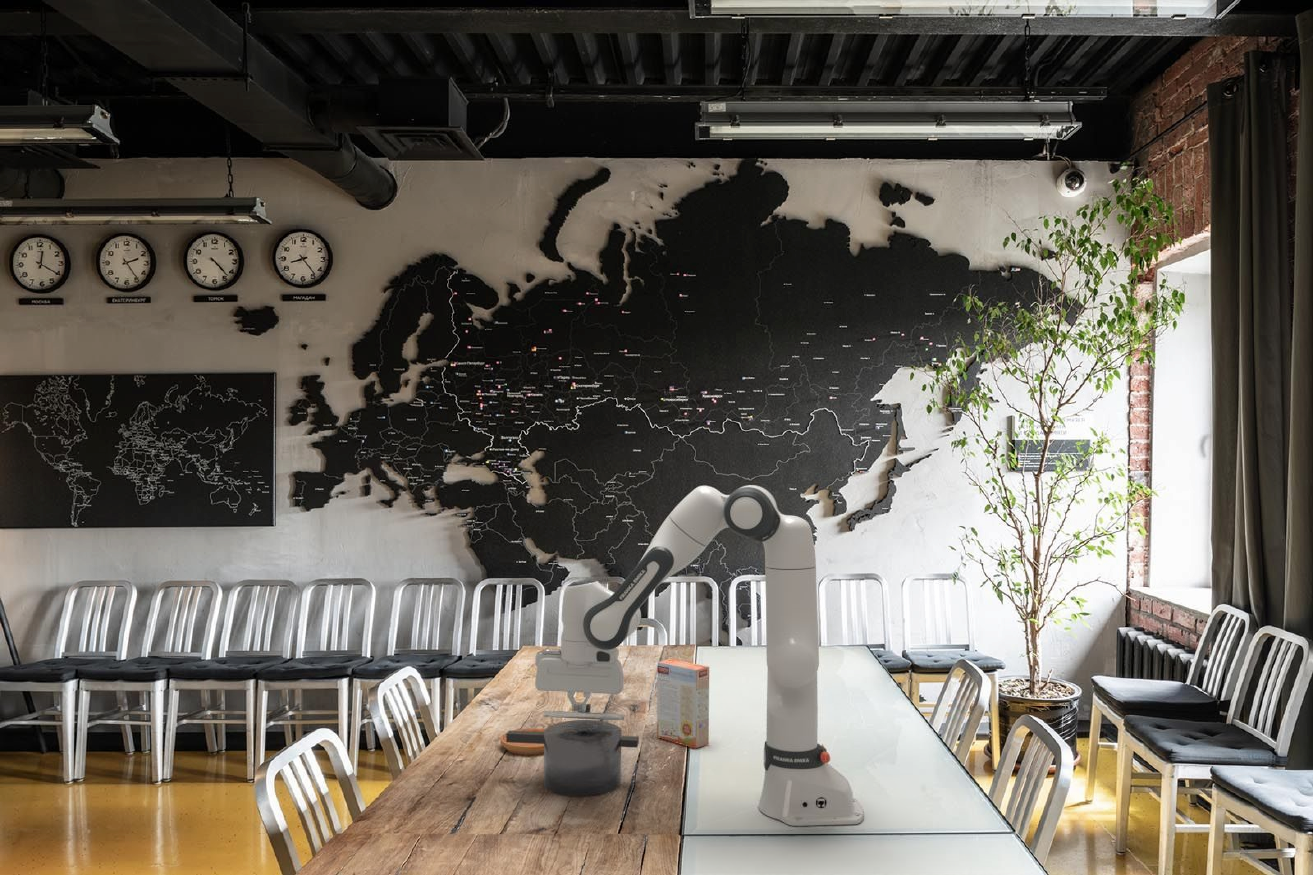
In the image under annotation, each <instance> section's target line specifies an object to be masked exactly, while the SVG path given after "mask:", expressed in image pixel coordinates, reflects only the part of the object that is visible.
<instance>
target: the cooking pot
mask: <svg viewBox="0 0 1313 875" xmlns="http://www.w3.org/2000/svg"><path fill="white" fill-rule="evenodd" d="M544 729H545V731H544V732H530V731H513V730H508V731H507V732H506V733H507V734H506V742H513V743H535V744H544V753H543V786H544V787H543V788H545V789H546V790H547V791H549V792H551V793H553V794H556V795H559V796H565V797H572V798H573V797H574V798H575V797H576V798H583V797H584V798H586V797H587V798H588V797H596V796H601V795H602V796H603V795H605V794H609V793H612V792H613V791H616V790H617V789H618V788H620V787H621V786H620V785H621V784H620V783H622V748H636V749H637V748H638V746H639V743H640V741H639V740H640V737H639V736H632V735H629V736H628V735H622V729H621V728H620V726H618V725H616V724H614V723H611V722H608V721H603V720H597V719H576V720H575V719H574V720H565V721H560V722H557V723H554V724H551V725H550V726H547V727H546V728H544ZM616 788H617V789H616ZM615 789H616V790H615ZM608 792H609V793H608Z"/></svg>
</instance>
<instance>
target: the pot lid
mask: <svg viewBox="0 0 1313 875" xmlns="http://www.w3.org/2000/svg"><path fill="white" fill-rule="evenodd" d="M543 717H544V718H559V719H560V718H561V719H562V718H563V719H576V720H600V721H603V720H604V721H605V720H606V721H608V720H609V721H610V720H611V721H625V714H623V713H622V714H621V713H607V712H606V713H605V712H591V704H590V703H586V710H585V712H576V711H560V710H559V711H557V710H555V711H554V710H544V711H543V712H542V718H543Z"/></svg>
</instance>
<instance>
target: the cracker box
mask: <svg viewBox="0 0 1313 875" xmlns="http://www.w3.org/2000/svg"><path fill="white" fill-rule="evenodd" d="M656 688H657V691H656V692H657V693H656V697H657V698H656V699H657V700H656V701H657V702H656V738H657V737H660V738H663V739H665V740H664V741H666V740H669V741H668V742H670V741H672V742H671V743H673V742H678V743H682V744H684V745H687V746H688V747H687V746H686V747H687V748H692V749H694V750H695V749H698V748H702V747H704V746H708V745H709V742H710V741H709V739H710V738H709V734H710V733H709V732H710V730H709V729H710V716H709V715H710V666H707V665H703V664H697V663H693V662H687V661H683V660H678V659H673V658H668V659H664V660H661V661H658V662H657V686H656ZM663 739H662V740H663ZM684 745H683V746H684Z"/></svg>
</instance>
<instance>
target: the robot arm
mask: <svg viewBox="0 0 1313 875" xmlns="http://www.w3.org/2000/svg"><path fill="white" fill-rule="evenodd" d="M728 528H729V529H730V530H731V531H732V532H733V533H735V534H737V535H738V536H741V537H743V538H744V537H745V538H747V539H751V540H755V541H757V542H761V543H762V545H763V548H764V559H765V560H764V562H765V564H764V570H765V571H764V572H765V574H764V575H765V576H764V577H765V617H766V618H765V632H766V633H765V634H766V635H765V637H766V638H765V639H766V640H765V641H766V642H765V644H766V646H765V647H766V666H767V676H766V677H767V681H766V682H767V685H766V687H767V688H766V740H765V741H764V746H763V768H764V779H763V785H762V789H761V790H762V791H761V794H760V799H759V801H758V806H757V808H758V809H759V811H760V812H761V813H762V814H764V815H765V816H768V817H770V818H772V819H776V820H779V821H782V822H783V823H784V824H786V825H788V826H792V827H795V826H796V827H797V826H803V827H804V826H833V825H834V826H835V825H837V826H838V825H841V826H842V825H857V824H860V823H862V821H863V820H864V817H865V816H864V808H863V806H862V803H860V802H859V800H858V799H856V798H854V796H853V791H852V787H851V784H850V782H849V780H848V779H847V777H846V776H845V775H843V774H842V773H841V772H839V771H838V770H837V769H836V768H834V767H833V766H832V765H831V764H829V762H831V755H830V753H829V752H827V748H826V747H825V746H824V744H820V743H818V727H819V726H818V721H819V720H818V713H819V710H818V709H819V706H818V671H819V666H820V654H819V653H820V652H819V651H820V650H819V648H820V647H819V623H818V599H817V598H818V597H817V596H818V595H817V594H818V593H817V588H818V587H817V562H816V561H817V560H816V559H817V558H816V557H817V556H816V549H815V542H814V538H813V532H812V527H811V525H810V524H809V522H808V521H807V520H806V519H804V518H802V517H800V516H796V515H787V514H783V513H782V512H780V510H779V505H778V500H777V499H776V497H775V496H774V494H773V493H772V492H771V491H770V490H769V489H767V488H765V487H763V486H759V485H755V484H752V485H751V484H748V485H743V486H741V487H739V488H736V489H735V490H734V491H732V492H731V493H728V494H724V493H722V492H720V490H718V489H716V488H715V487H712V486H709V485H699V486H697V487H696V488H694V489H693V490H692V491H691V492H689V493H688V494H687V495H686V496H685V497H684V498H683V499H682V500H681V501H680V502H679V503H678V504H677V505H676V506H674V508H673V510H672V511H671V512H670V513H669V515H668V516H667V517H666V518H665V520H664V521H663V522H662V524H661V525H660V527H658V530H657V531H656V533H655V535H654V537H653V538H652V540H651V542H650V544H649V545H648V547H647V549H646V551H645V553H644V554H643V556H642V557H641V559H640V561H638V563H637V565H636V566H635V568H634V569H633V570H632V571H631V572H630V574H628V576H627V577H626V578H625V579H624V581H623V582H622V583H621V585H619V587H618V588H617V589H616V590H615V591H612V590H610V589H609V588H606V586H603V585H602V584H601V583H600V582H599V581H598V580H596V579H582V580H577V581H574V582H571V583H570V584H568V585H567V586H566V587H565V588H564V592H563V597H562V604H561V605H562V606H561V621H562V628H563V629H562V631H561V635H560V637H561V638H560V649H549V648H544V649H542V650H539V651H537V653H536V655H535V661H534V662H535V666H536V674H535V682H534V686H535V688H536V689H537V691H541V692H542V691H544V692H565V693H567V694H566V695H567V698H568V700H569V702H570V704H571V712H585V710H586V704H587V703H588V701H589V699H590V697H591V695H592V694H604V695H605V694H607V695H619V694H620V693H621V692H622V691H623V690H624V681H625V680H624V671H623V666H622V663H621V661H620V660H619V654H620V653H619V649H618V647H619V646H620V645H621V644H622V643H624V641H625V640H626V639H627V638H629V637H630V636H631V635H632V634H633V633H635V632H636V631H637V629H638V628H639V626H640V624H641V621H642V611H641V609H640V608H641V606H642V605H643V604H644V603H645V602H646V601H647V599H648V598H649V597H650V596H651V594H652V593H653V592H654V591H655V590H656V589H657V588H658V586H660V584H662V583H663V582H664V581H666V580H667V579H669V578H670V577H671V576H673V575H675V574H676V573H678V572H680V571H681V570H683V569H684V568H687V566H689V565H690V564H691V563H692V562H694V561H695V560H696V559H697V558H698V557H699V556H700V555H701V554H702V553H703V552H704V551H705V549H706V548H707V547H708V546H709V544H710V543H711V541H712V540H713V539H714V538H715V537H716V536H717V535H718V534H719V533H720V532H721V531H722V530H724V529H728ZM576 693H583V698H585V699H584V700H583V702H579V701H576V698H575V694H576Z"/></svg>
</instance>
